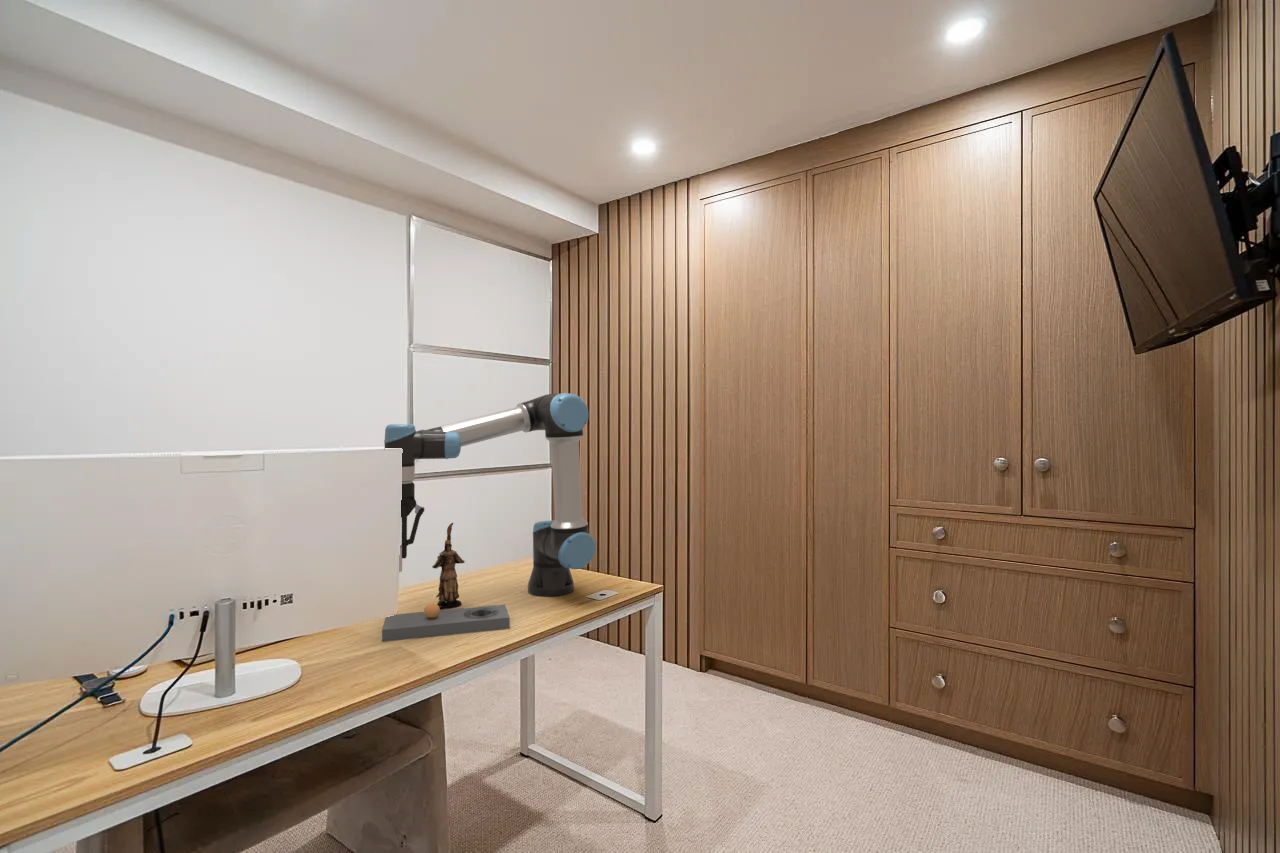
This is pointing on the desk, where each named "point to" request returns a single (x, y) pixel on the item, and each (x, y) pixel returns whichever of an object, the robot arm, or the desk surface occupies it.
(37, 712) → the desk surface
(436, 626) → the block
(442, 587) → the figurine
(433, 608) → the ball
